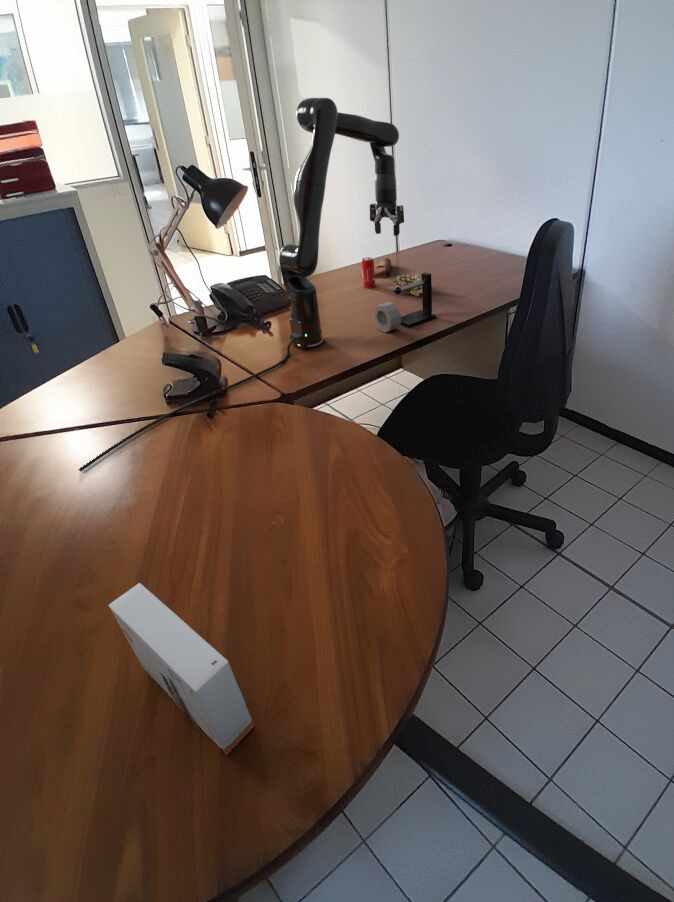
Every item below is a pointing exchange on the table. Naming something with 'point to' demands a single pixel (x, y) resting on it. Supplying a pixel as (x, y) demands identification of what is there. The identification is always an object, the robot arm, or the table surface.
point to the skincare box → (183, 664)
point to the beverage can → (368, 272)
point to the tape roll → (387, 317)
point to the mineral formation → (407, 281)
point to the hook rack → (423, 314)
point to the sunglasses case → (382, 268)
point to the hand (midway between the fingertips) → (387, 234)
